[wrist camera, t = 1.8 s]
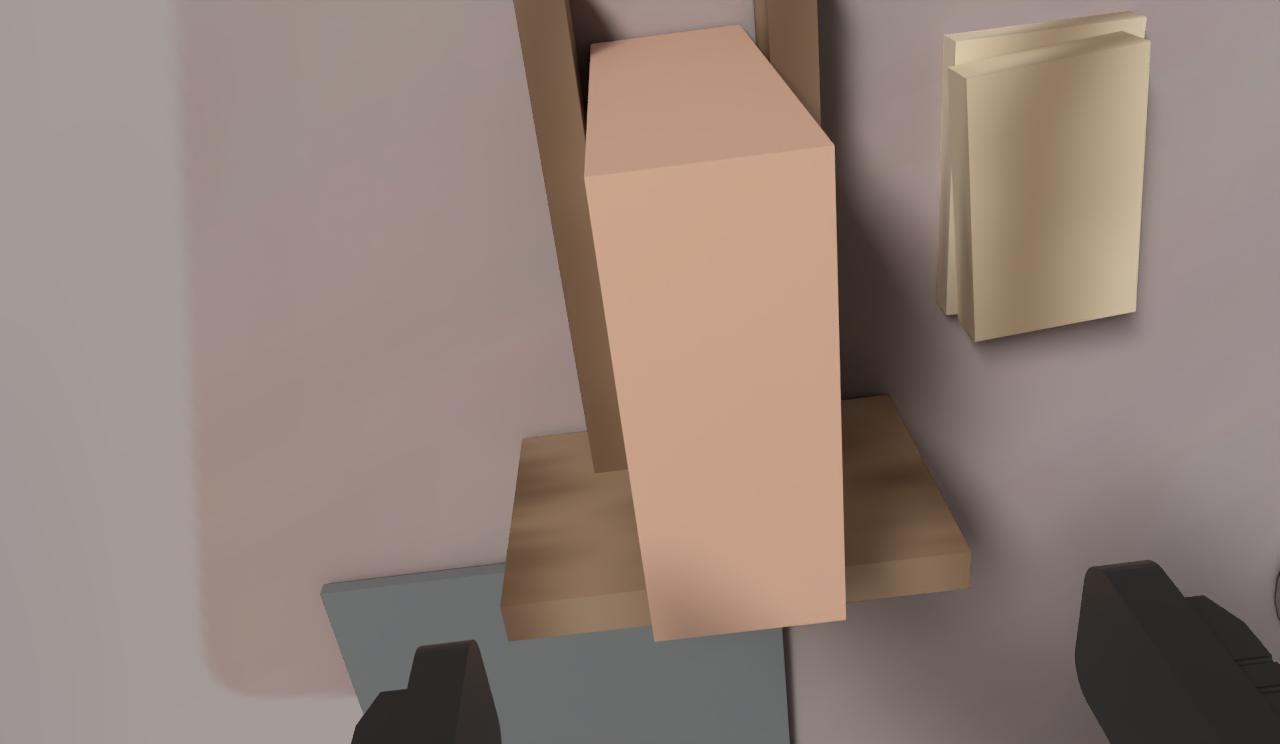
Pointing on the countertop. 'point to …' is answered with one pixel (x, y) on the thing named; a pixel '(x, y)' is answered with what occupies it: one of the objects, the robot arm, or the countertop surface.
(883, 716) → the countertop surface
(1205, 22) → the countertop surface
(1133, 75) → the offcut upper
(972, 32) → the cream folded flat block
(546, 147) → the rack
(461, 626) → the mat
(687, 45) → the salmon pink block
